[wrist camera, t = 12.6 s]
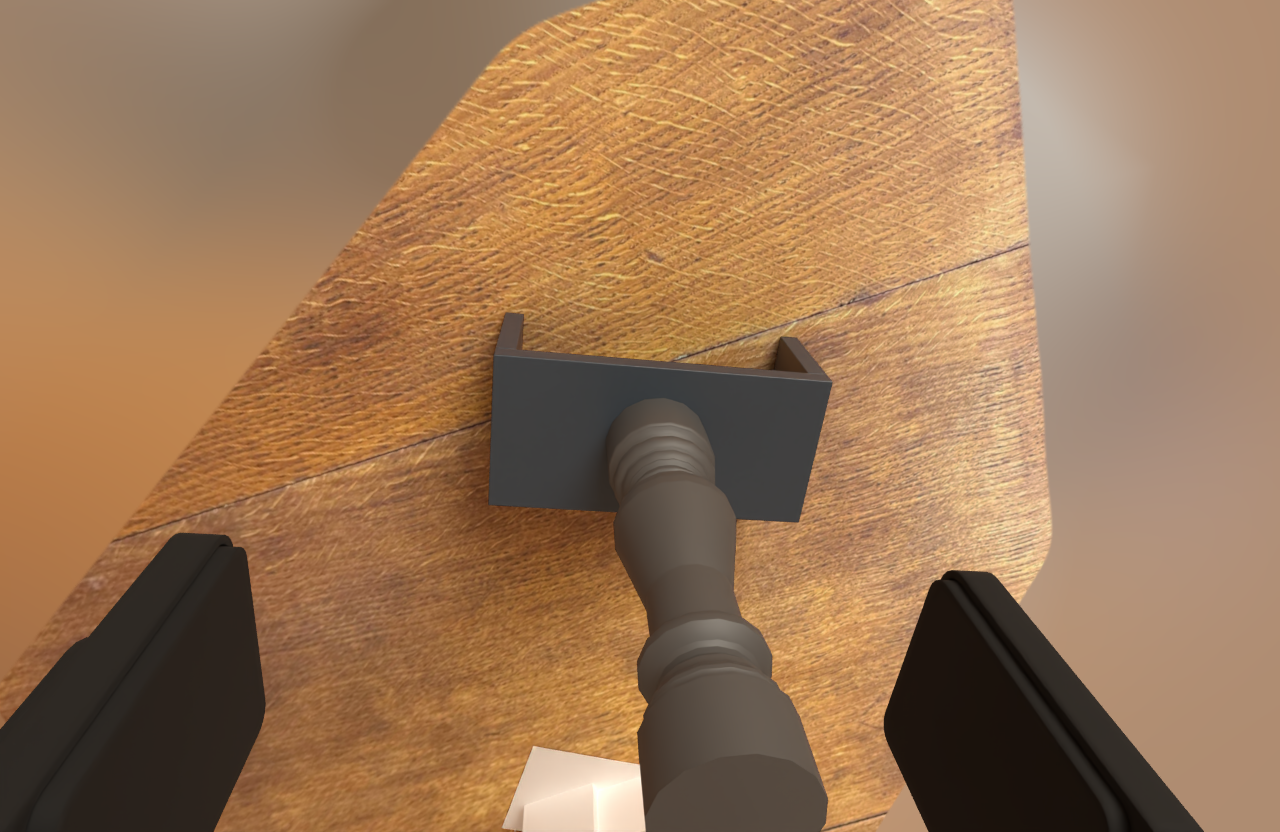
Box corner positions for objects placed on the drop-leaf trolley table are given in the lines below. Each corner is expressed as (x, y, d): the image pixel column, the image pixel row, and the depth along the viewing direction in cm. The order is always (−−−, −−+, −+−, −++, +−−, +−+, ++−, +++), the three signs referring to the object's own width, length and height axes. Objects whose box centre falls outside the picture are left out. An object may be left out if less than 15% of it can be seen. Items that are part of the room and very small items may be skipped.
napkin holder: (501, 829, 71) (495, 889, 65) (531, 745, 66) (527, 803, 61) (650, 850, 74) (656, 909, 68) (688, 771, 69) (697, 828, 64)
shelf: (500, 446, 53) (488, 505, 46) (505, 312, 49) (493, 354, 42) (770, 463, 56) (798, 523, 48) (797, 337, 52) (833, 381, 44)
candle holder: (612, 392, 43) (653, 742, 21) (715, 403, 44) (860, 752, 22) (599, 483, 46) (621, 883, 23) (696, 492, 47) (808, 887, 24)
